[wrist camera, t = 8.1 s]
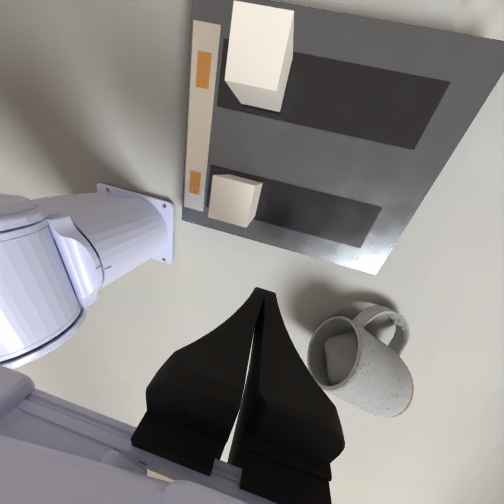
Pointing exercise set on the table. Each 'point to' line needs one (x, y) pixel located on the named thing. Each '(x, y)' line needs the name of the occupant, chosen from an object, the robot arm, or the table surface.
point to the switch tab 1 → (259, 54)
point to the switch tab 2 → (234, 199)
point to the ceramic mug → (362, 363)
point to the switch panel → (333, 128)
